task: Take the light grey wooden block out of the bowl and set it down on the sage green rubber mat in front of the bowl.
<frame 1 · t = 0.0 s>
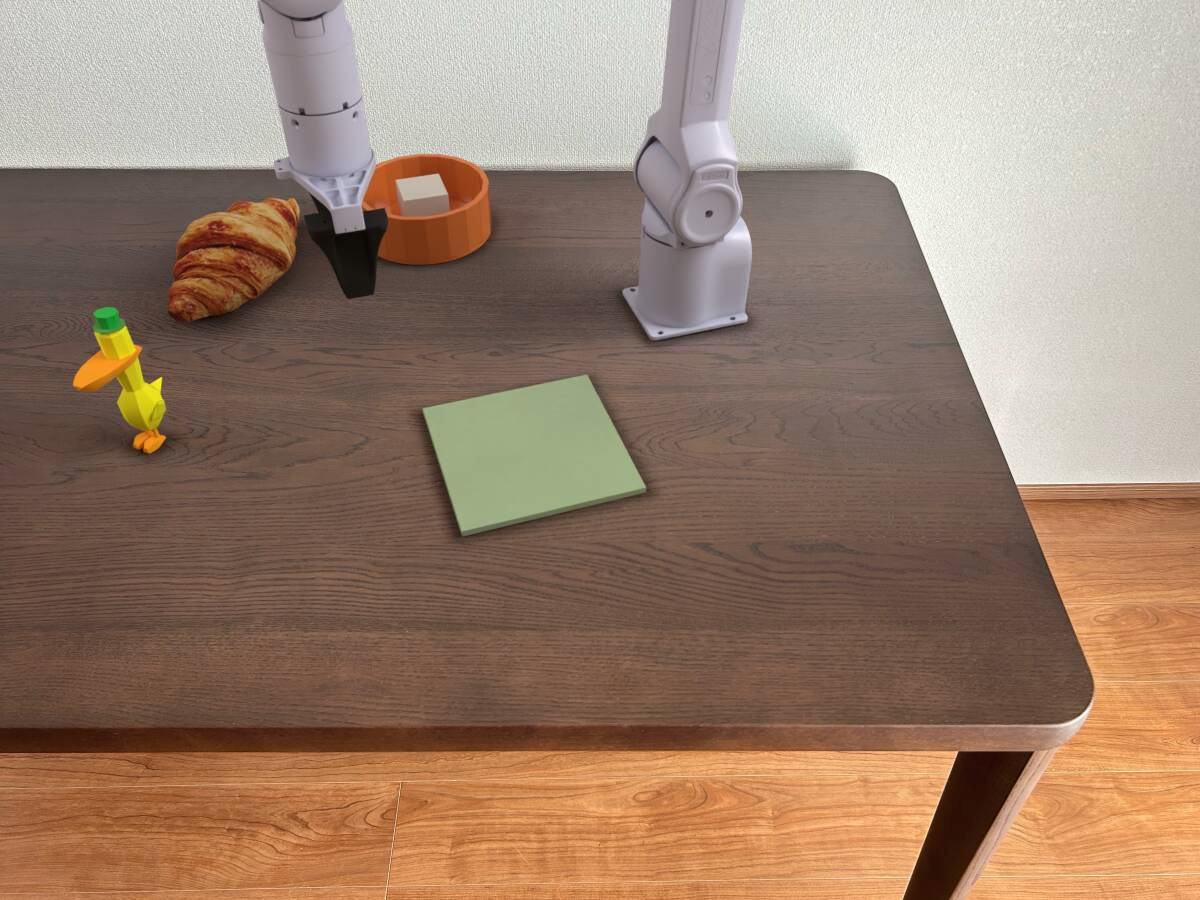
hand: (352, 267, 76), 10 cm above the table, tool pointing down, fingers open, 7 cm apart
toy figure: (149, 446, 76), on the table
mat: (529, 451, 75), on the table
block: (426, 226, 99), resting on bowl
bowl: (426, 229, 99), on the table
croissant: (247, 276, 93), on the table
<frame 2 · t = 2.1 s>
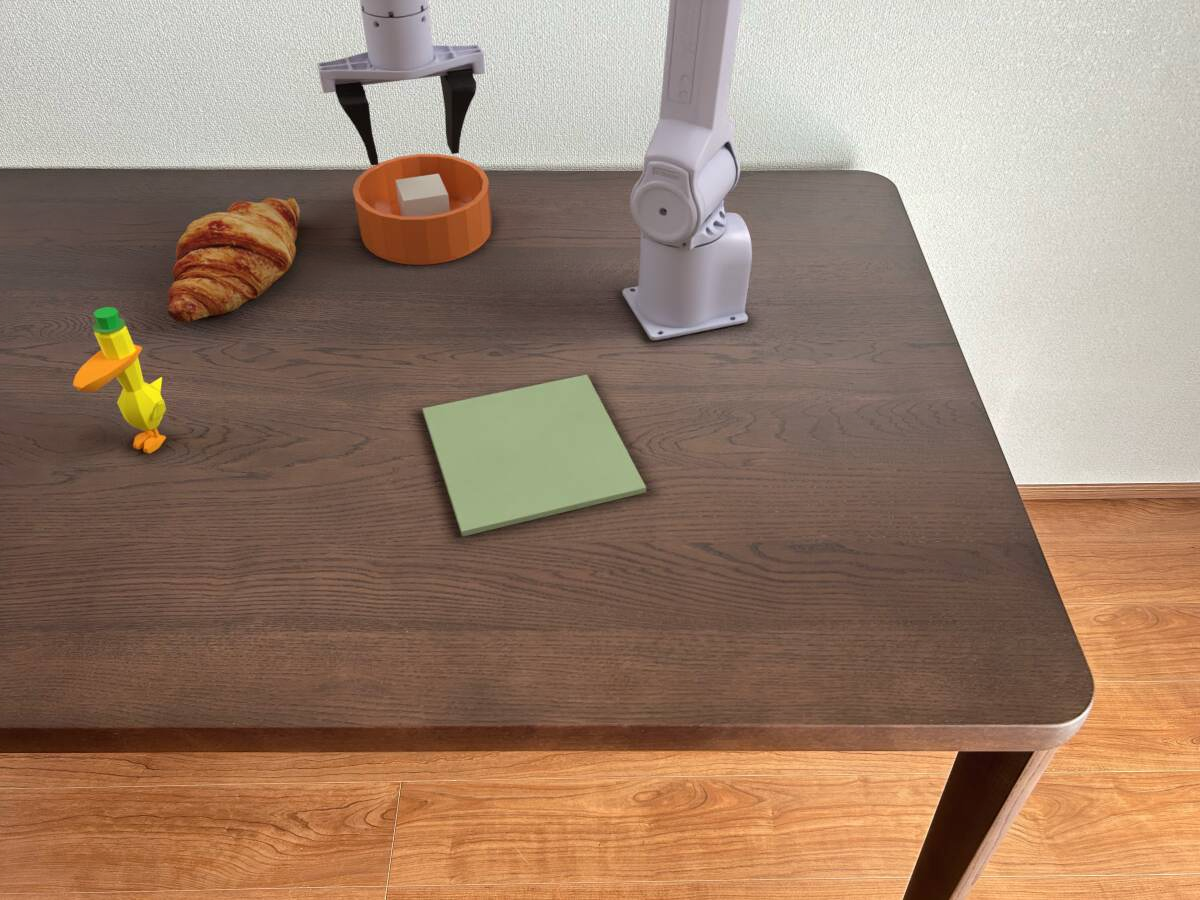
hand: (413, 154, 92), 9 cm above the table, tool pointing down, fingers open, 7 cm apart
nothing on the table moved.
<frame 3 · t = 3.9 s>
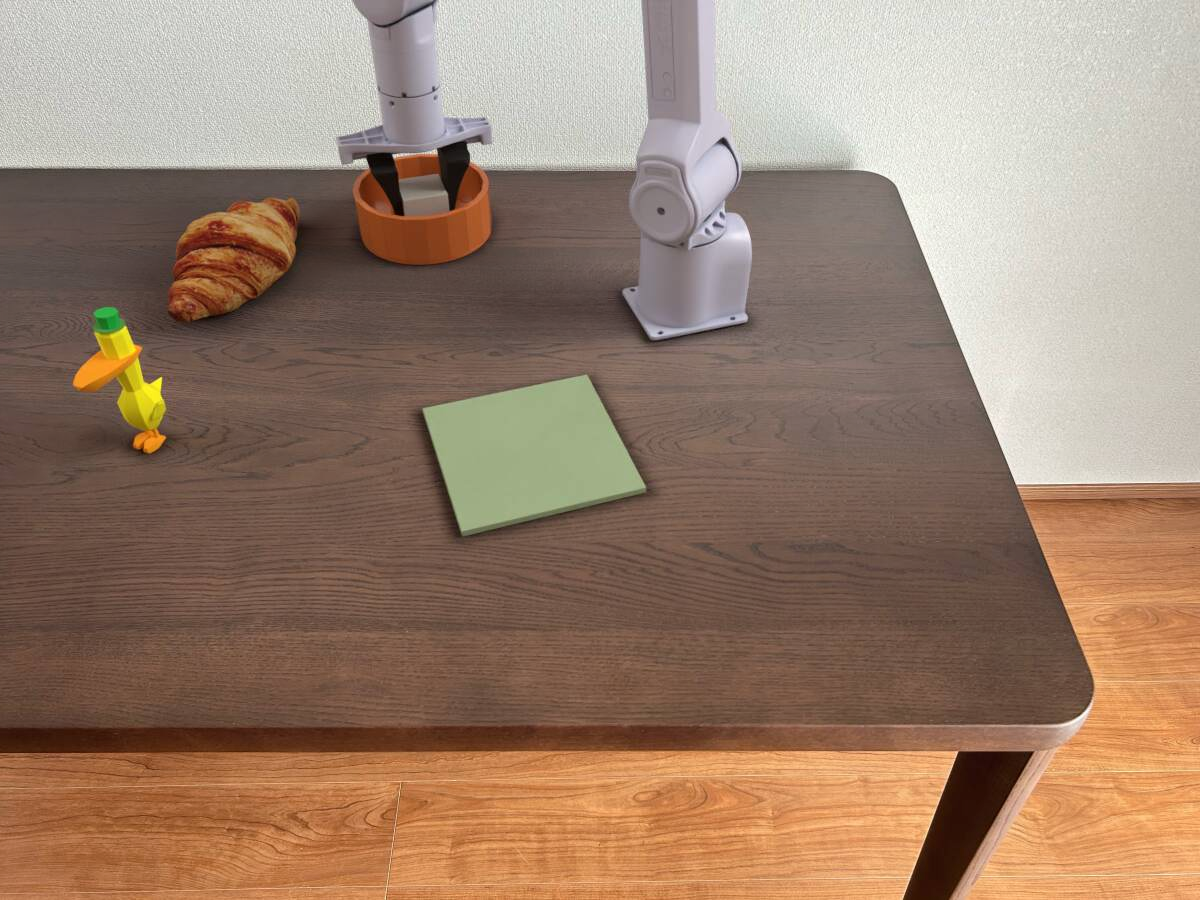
hand: (425, 217, 98), 1 cm above the table, tool pointing down, fingers closed on block, 4 cm apart
block: (426, 226, 99), resting on bowl, touching gripper
everything else where it was.
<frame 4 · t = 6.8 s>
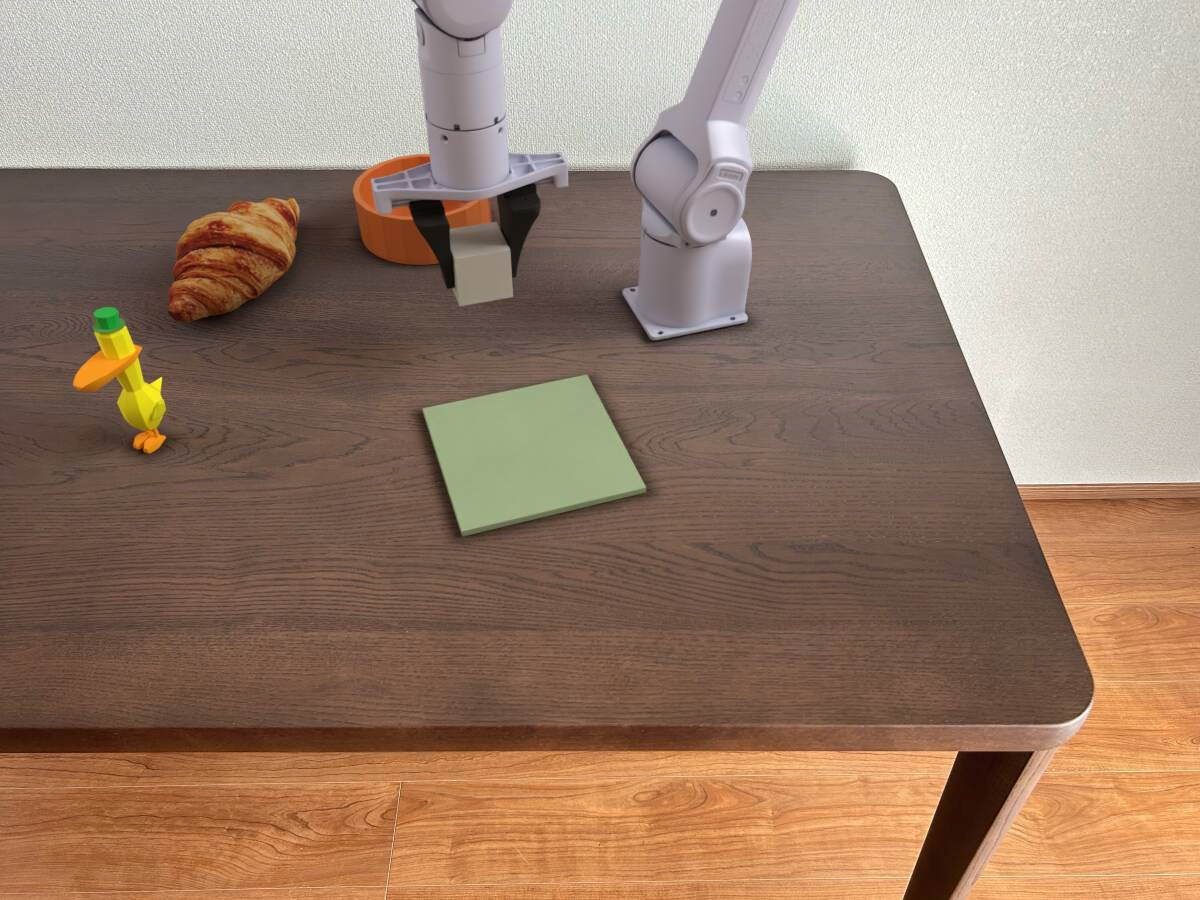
hand: (479, 276, 78), 8 cm above the table, tool pointing down, fingers closed on block, 4 cm apart
block: (480, 287, 79), point 7 cm above the table, touching gripper
everything else where it was.
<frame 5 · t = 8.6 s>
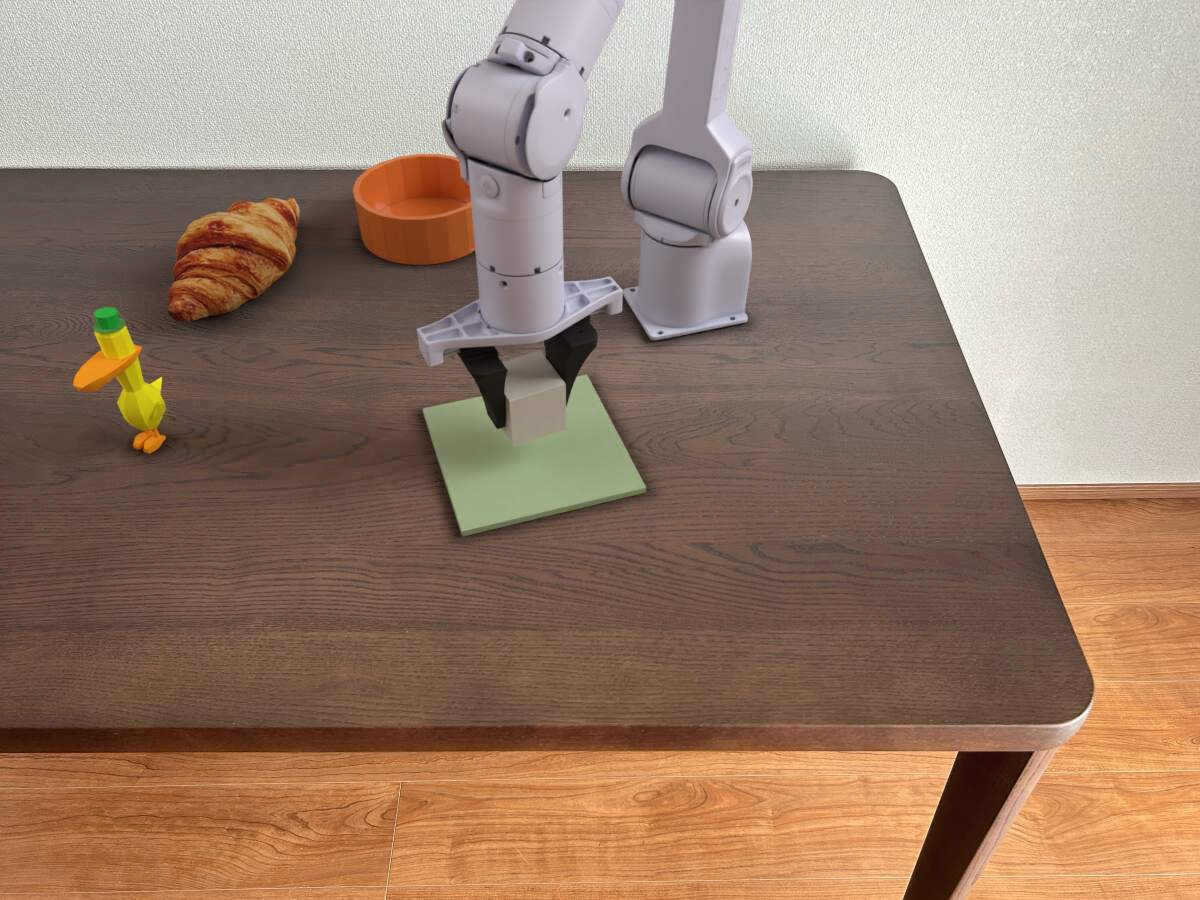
hand: (527, 410, 72), 4 cm above the table, tool pointing down, fingers closed on block, 4 cm apart
block: (527, 420, 73), point 3 cm above the table, touching gripper
everything else where it was.
when the fingers open (2 cm above the table, at t = 9.8 s): block stays where it is, resting on mat.
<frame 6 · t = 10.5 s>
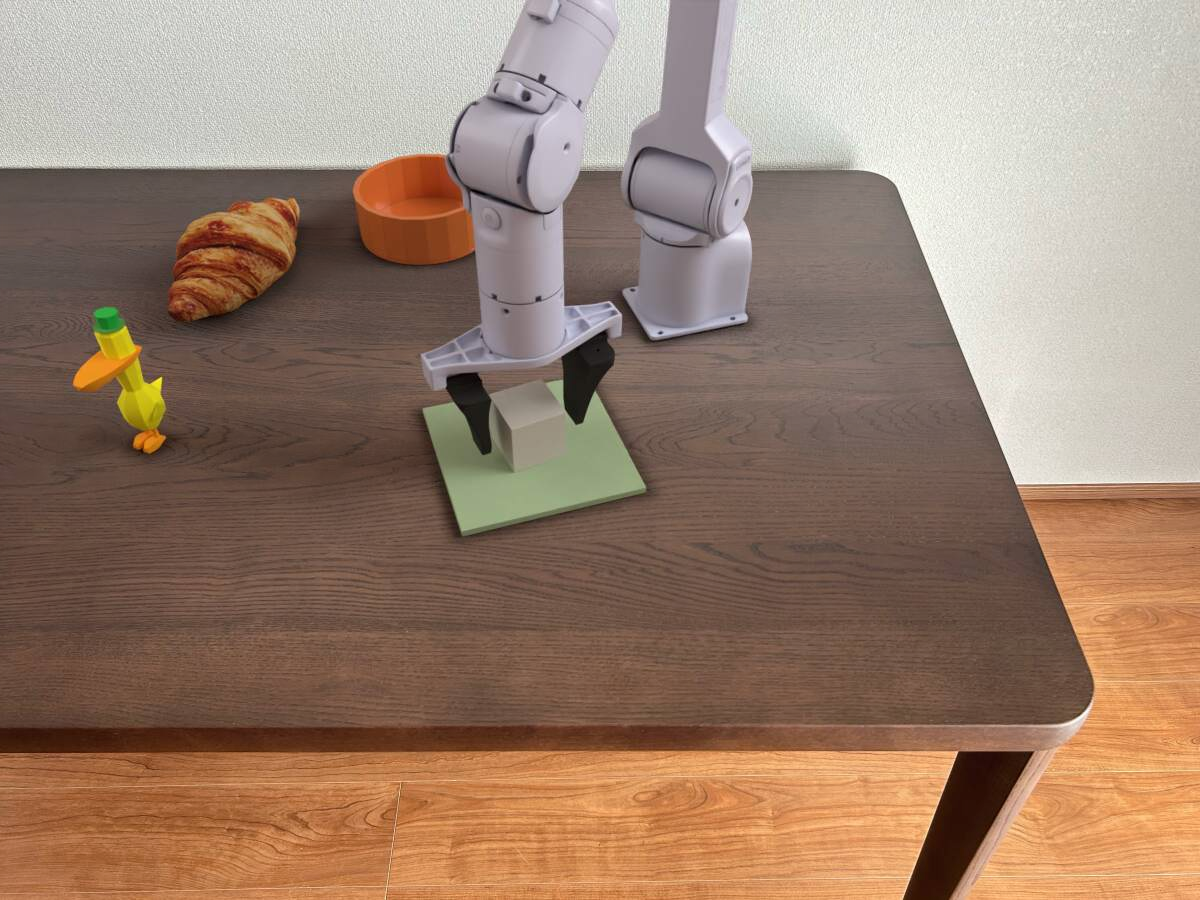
hand: (529, 431, 74), 2 cm above the table, tool pointing down, fingers open, 7 cm apart
block: (529, 446, 75), point 1 cm above the table, touching mat
everything else where it was.
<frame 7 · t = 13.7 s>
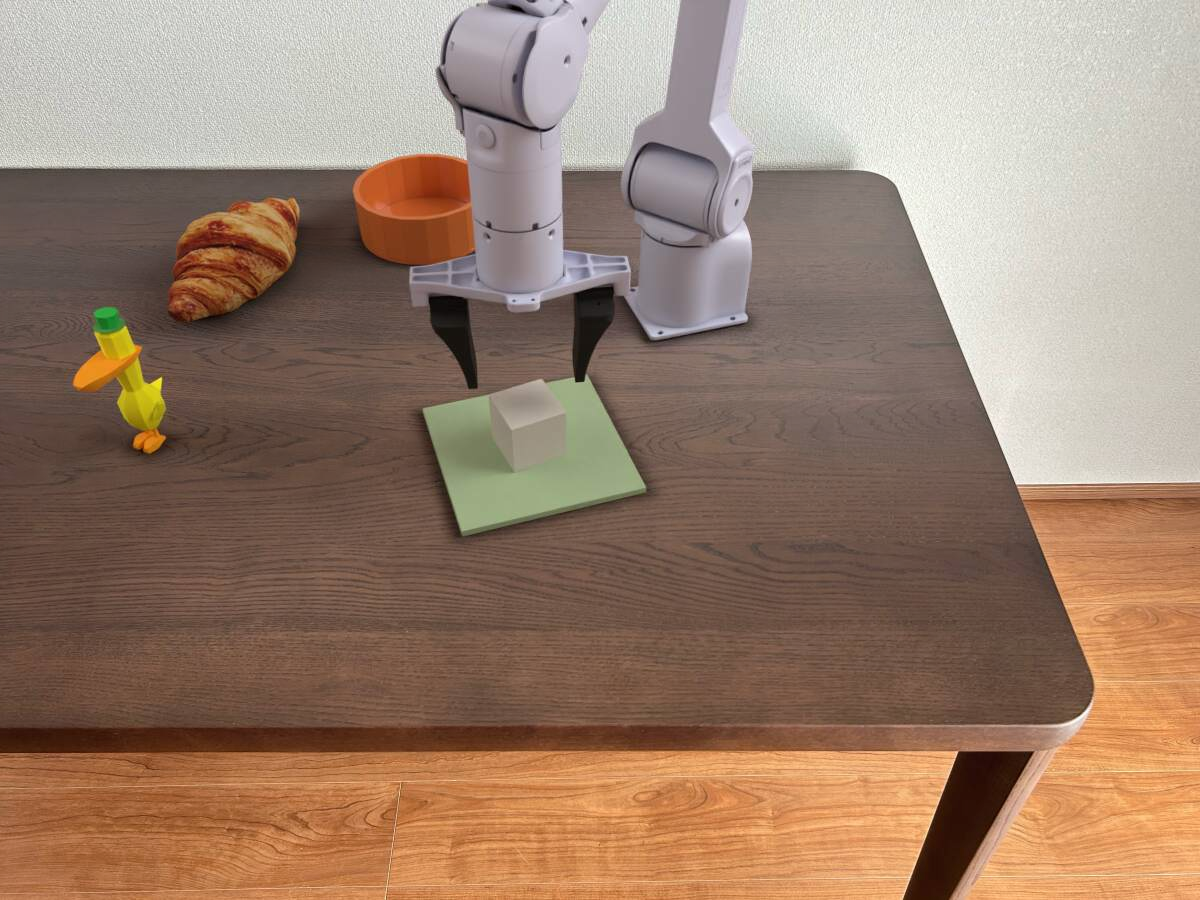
hand: (526, 377, 70), 7 cm above the table, tool pointing down, fingers open, 7 cm apart
nothing on the table moved.
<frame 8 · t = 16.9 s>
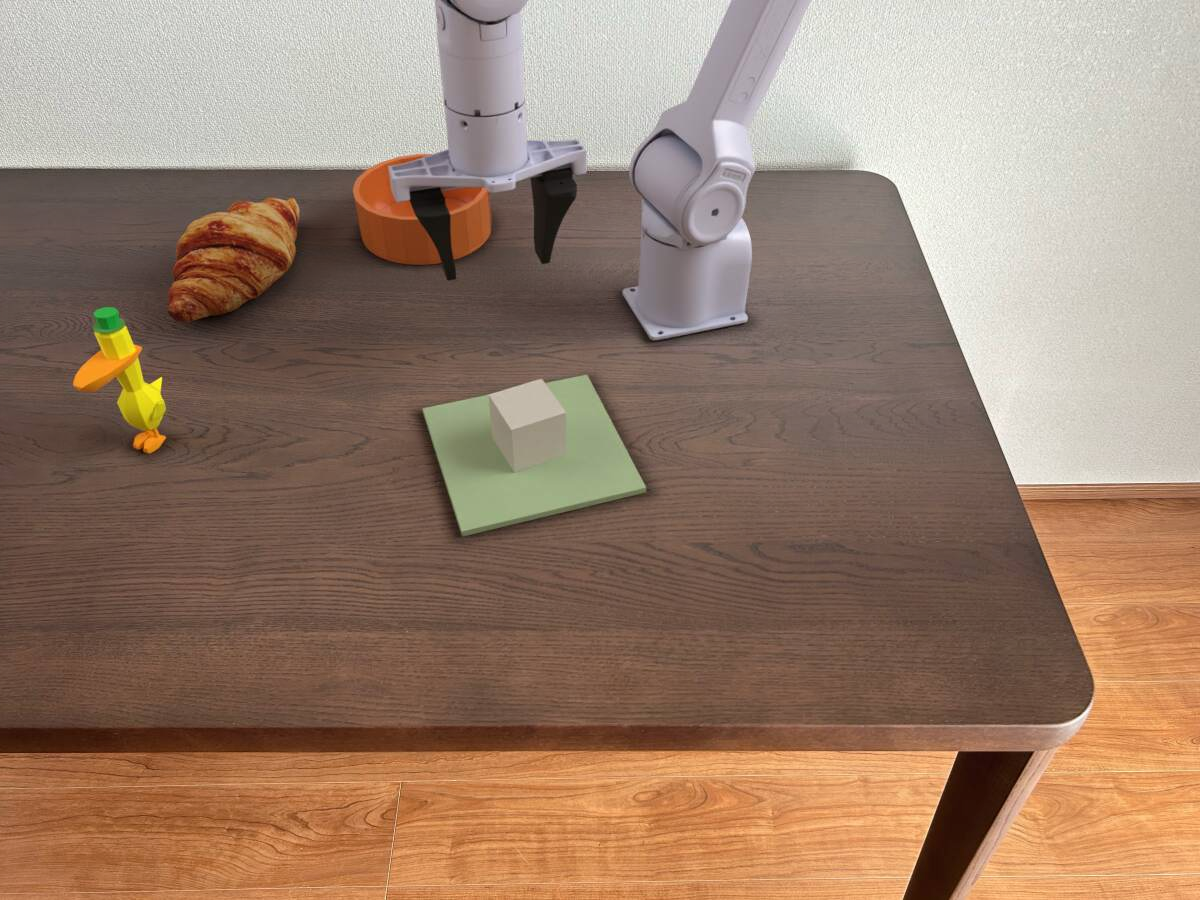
hand: (496, 265, 77), 9 cm above the table, tool pointing down, fingers open, 7 cm apart
nothing on the table moved.
at the end: block inside the target area on the mat (0.0 cm from its centre), point 0.6 cm above the mat's base; block tilted 0°; block touching mat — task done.
